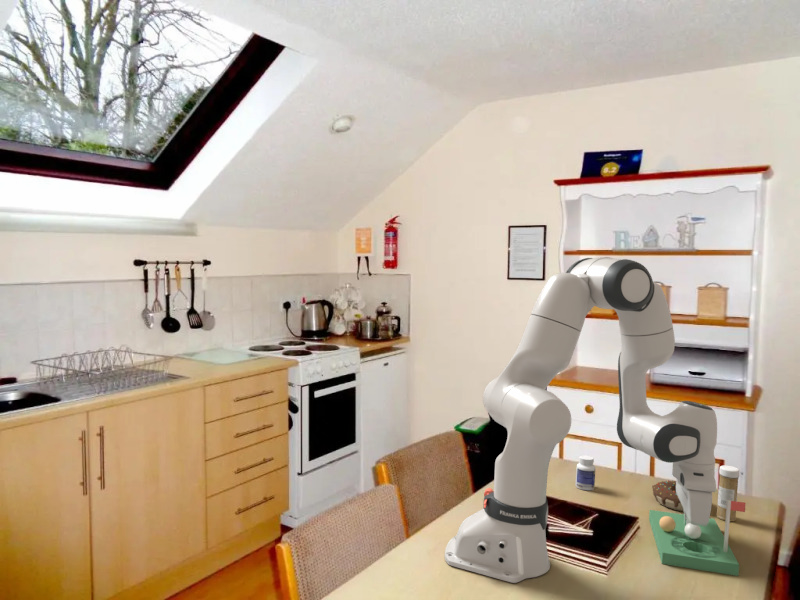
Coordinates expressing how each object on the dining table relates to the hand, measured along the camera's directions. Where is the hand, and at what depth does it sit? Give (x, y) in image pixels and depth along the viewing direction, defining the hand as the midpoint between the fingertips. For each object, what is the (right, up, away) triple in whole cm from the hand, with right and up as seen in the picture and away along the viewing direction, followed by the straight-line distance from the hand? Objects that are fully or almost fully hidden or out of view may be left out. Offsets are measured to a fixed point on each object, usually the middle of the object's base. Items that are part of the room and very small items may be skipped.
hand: (689, 528), depth 143 cm
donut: (+8, -3, +24) cm, 25 cm away
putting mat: (0, -4, -1) cm, 4 cm away
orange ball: (-5, +1, 0) cm, 5 cm away
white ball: (-1, +1, -3) cm, 3 cm away
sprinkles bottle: (+17, -3, +15) cm, 22 cm away
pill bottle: (-15, -1, +33) cm, 36 cm away
